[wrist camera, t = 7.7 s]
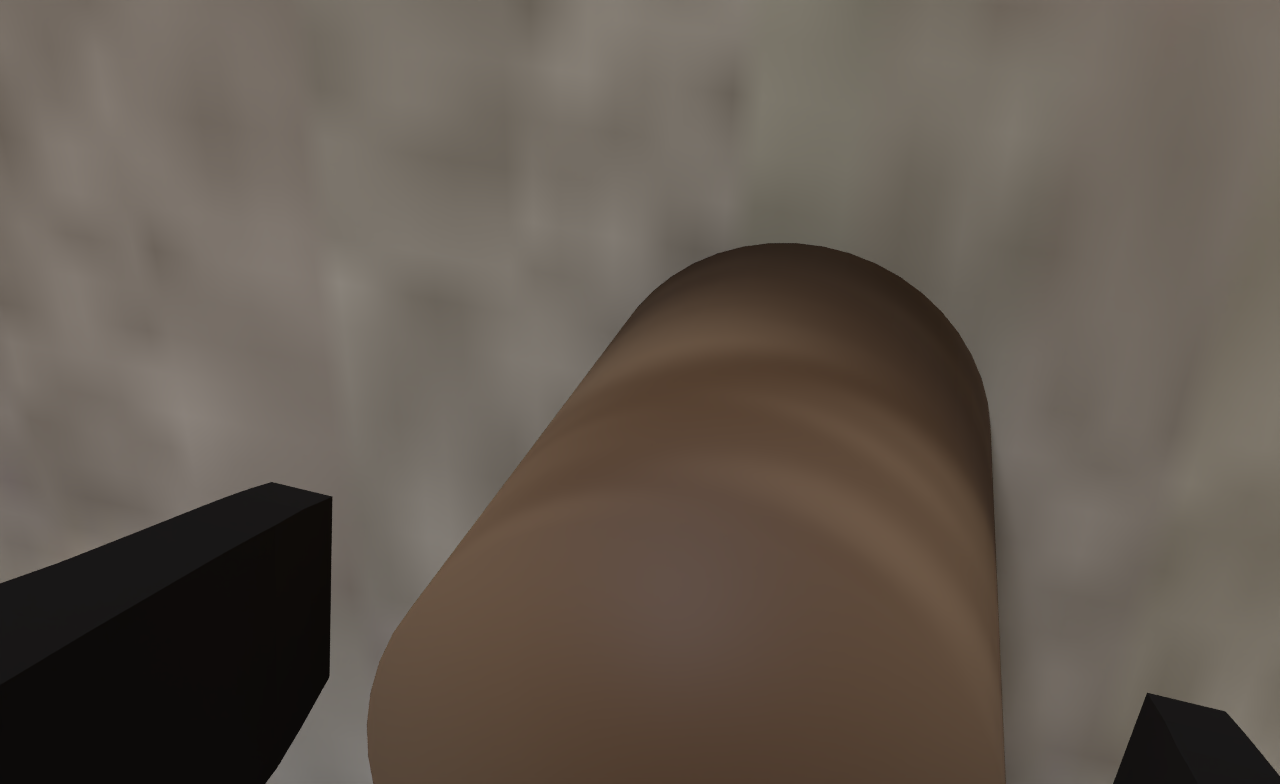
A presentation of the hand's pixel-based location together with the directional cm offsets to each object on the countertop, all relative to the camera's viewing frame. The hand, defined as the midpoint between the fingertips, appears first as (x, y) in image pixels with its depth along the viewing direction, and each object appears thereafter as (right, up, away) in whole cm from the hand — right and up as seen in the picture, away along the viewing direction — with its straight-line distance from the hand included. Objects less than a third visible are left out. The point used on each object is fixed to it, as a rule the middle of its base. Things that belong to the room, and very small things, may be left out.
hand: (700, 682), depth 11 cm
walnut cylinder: (+1, +2, +5) cm, 6 cm away
